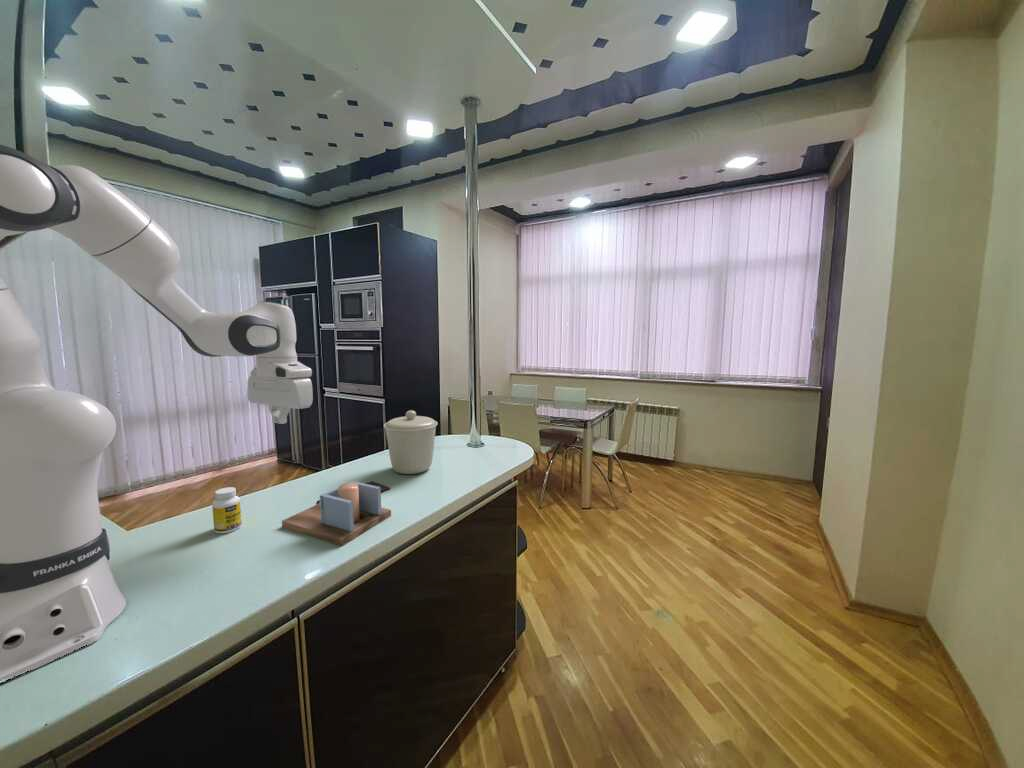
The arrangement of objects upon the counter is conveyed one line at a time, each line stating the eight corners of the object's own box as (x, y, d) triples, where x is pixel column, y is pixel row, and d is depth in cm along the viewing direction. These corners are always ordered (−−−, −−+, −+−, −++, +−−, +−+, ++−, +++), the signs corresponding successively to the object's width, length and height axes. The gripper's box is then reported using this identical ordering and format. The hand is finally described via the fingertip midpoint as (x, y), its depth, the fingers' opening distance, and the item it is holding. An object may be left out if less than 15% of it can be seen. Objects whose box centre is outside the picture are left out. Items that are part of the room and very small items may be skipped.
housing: (350, 531, 89) (349, 502, 88) (321, 522, 93) (319, 495, 92) (381, 513, 98) (380, 487, 97) (353, 506, 102) (352, 480, 101)
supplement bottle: (227, 535, 90) (224, 495, 89) (208, 532, 91) (204, 493, 90) (247, 524, 95) (244, 486, 94) (229, 522, 96) (226, 484, 95)
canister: (404, 458, 146) (403, 404, 143) (447, 464, 141) (446, 407, 138) (373, 475, 129) (371, 413, 126) (420, 482, 124) (419, 418, 121)
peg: (349, 530, 93) (347, 491, 92) (335, 526, 95) (333, 488, 93) (364, 522, 97) (362, 484, 96) (350, 518, 99) (348, 481, 98)
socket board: (342, 546, 86) (341, 539, 86) (282, 526, 94) (281, 520, 94) (391, 515, 101) (390, 509, 101) (335, 501, 109) (335, 495, 109)
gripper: (238, 367, 97) (241, 420, 99) (292, 371, 89) (295, 429, 90) (263, 366, 103) (265, 416, 104) (316, 369, 95) (318, 424, 96)
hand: (279, 423), depth 97 cm, fingers closed
